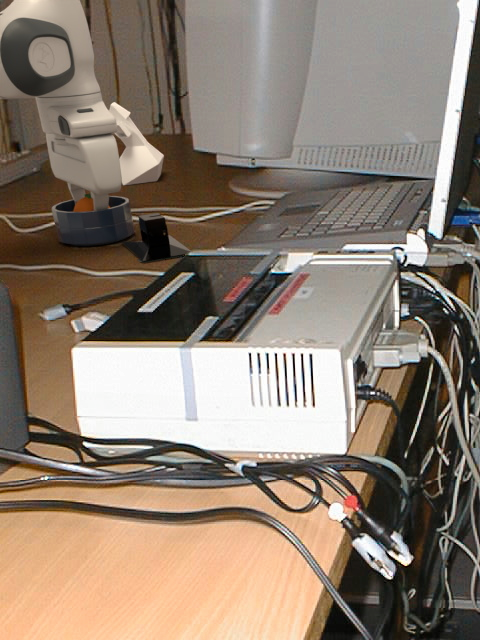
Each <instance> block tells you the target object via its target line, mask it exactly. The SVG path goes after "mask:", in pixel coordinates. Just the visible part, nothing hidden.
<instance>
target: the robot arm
mask: <svg viewBox="0 0 480 640" xmlns="http://www.w3.org/2000/svg"><path fill="white" fill-rule="evenodd" d="M89 28H90V27H89V24H88V21H87V17H86V14H85V11H84V8H83V5H82V2H81V0H12V2H11V3H10V4H9V5H8V6H7V7H6V8H5V9H3V10H2V11H0V100H15V99H18V100H19V99H20V100H21V99H23V100H24V99H35V102H36V107H37V112H38V115H39V120H40V125H41V129H42V132H43V133H44V134H45V138H46V146H47V152H48V158H49V164H50V169H51V171H52V174H53V176H54V177H55V178H56V179H58V180H61V181H63V182H65V183H67V187H68V191H69V193H70V195H71V197H72V200H74V202H75V205H76V203H77V202H78V201H79V200H80V199H82V198H84V197H85V196H84V194H87V193H86V191H87V192H89V194H91V198H93V204H94V209H92V210H93V211H96V210H102V209H108V203H109V196H110V195H111V194H115V193H120V192H121V190H122V186H123V184H122V176H121V168H120V160H119V159H120V155H119V148H118V143H117V139H116V138H115V135H114V133H116V132H117V124H116V119H115V117H114V116H113V114H112V113H111V112H110V111H109V109H108V108H107V106H106V104H105V101H104V100H103V95H102V91H101V87H100V85H99V83H98V80H97V78H96V73H95V53H94V47H93V42H92V38H91V33H90V29H89ZM109 194H110V195H109Z"/></svg>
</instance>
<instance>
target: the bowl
mask: <svg viewBox="0 0 480 640" xmlns="http://www.w3.org/2000/svg"><path fill="white" fill-rule="evenodd" d="M108 205H109V206H110V208H108V209H102V210H96V211H85V212H73V210H74V207H75V202H74V200H73V199H69V200H64V201H61V202H58V203H56V204H54V205H52V207H51V214H52V219H53V221H54V227H55V232H56V235H57V239H58V240H57V241H59V242H61V243H63V244H68V245H70V246H75V247H94V246H95V247H96V246H104V245H110V244H114V243H118V242H121V241H123V240H125V239H127V238H128V237H130V236H132V235H134V234H135V224H134V220H133V213H132V208H131V203H130V199H129V198H127V197H125V196H117V195H109V203H108Z"/></svg>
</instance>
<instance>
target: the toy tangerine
mask: <svg viewBox="0 0 480 640" xmlns="http://www.w3.org/2000/svg"><path fill="white" fill-rule="evenodd" d="M84 196H85V197H84V198H82V199H80V200H79V201H78V202H77V203H76V205H75V207H74V210H73V212H85V211H93V210H92V209H94V204H93V198H91V193H86V194H84ZM108 208H110V206H109V205H108Z"/></svg>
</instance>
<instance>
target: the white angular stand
mask: <svg viewBox="0 0 480 640" xmlns="http://www.w3.org/2000/svg"><path fill="white" fill-rule="evenodd" d="M108 110H109V111H110V112H111V113H112V114H113V116H114V117H115V119H116V124H117V132H116V133H113V135H114V136H116V137H117V138H118V139H120V140H121V142H122V143H123V144H124V146H125V149H124V150H123V152H122V153H121V155H120V156H119V160H120V168H121V176H122V186H130V185H136V184H137V185H139V184H146V183H153V182H158V180H159V178H160V177H161V175H162V169H163V164H164V158H165V155H164V154H163V153H162V152H160V151H159V150H158V149H157V148H156V147H155V146H153V145H152V144H151V143H149V141H148V140H147V139H146V137H145V136H144V135H143V133H142V132H141V131H140V129H139V128H138V127H137V125H136V124H135V122H134V121H133V119H131V117H130V115H131V112H130V111H129V110H127V109H126V108H124V107H123V106H121V105H120V104H118V103H117V102H116V101H114V102H112V103H111V104H110V105H109V109H108Z"/></svg>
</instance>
